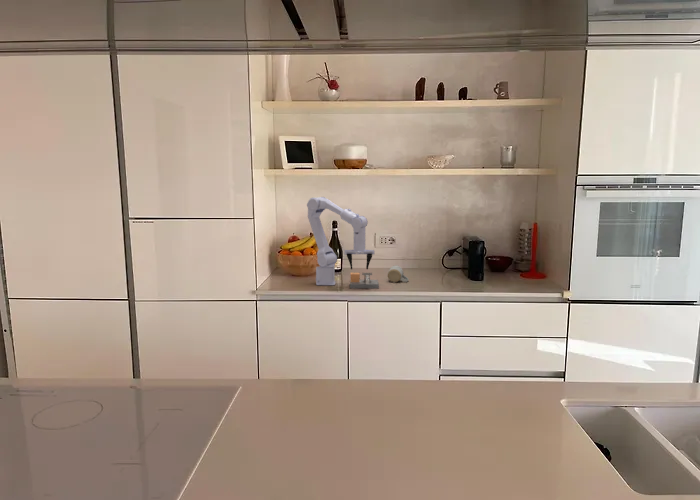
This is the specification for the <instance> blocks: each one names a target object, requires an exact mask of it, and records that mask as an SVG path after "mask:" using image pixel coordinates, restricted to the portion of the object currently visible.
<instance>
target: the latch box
mask: <svg viewBox="0 0 700 500" xmlns="http://www.w3.org/2000/svg"><path fill="white" fill-rule="evenodd" d="M379 288H380V285H379V280H378V279H370V281H369V284H366V282H365V281H364V279H360V282H351V279H350V280H349V289H379Z"/></svg>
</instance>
